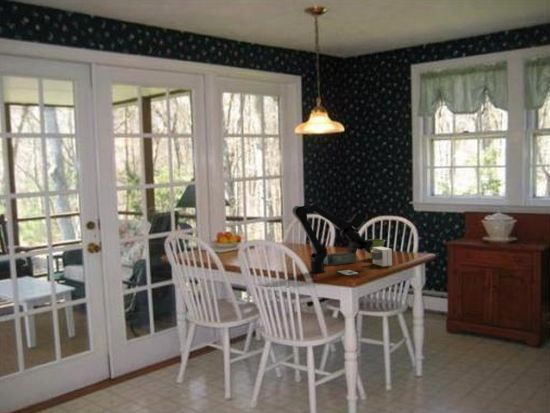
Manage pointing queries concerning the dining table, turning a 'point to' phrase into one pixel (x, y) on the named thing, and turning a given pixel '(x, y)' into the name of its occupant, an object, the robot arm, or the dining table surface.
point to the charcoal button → (376, 255)
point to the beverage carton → (339, 258)
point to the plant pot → (377, 243)
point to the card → (348, 272)
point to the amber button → (370, 254)
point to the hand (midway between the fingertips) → (370, 252)
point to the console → (383, 256)
